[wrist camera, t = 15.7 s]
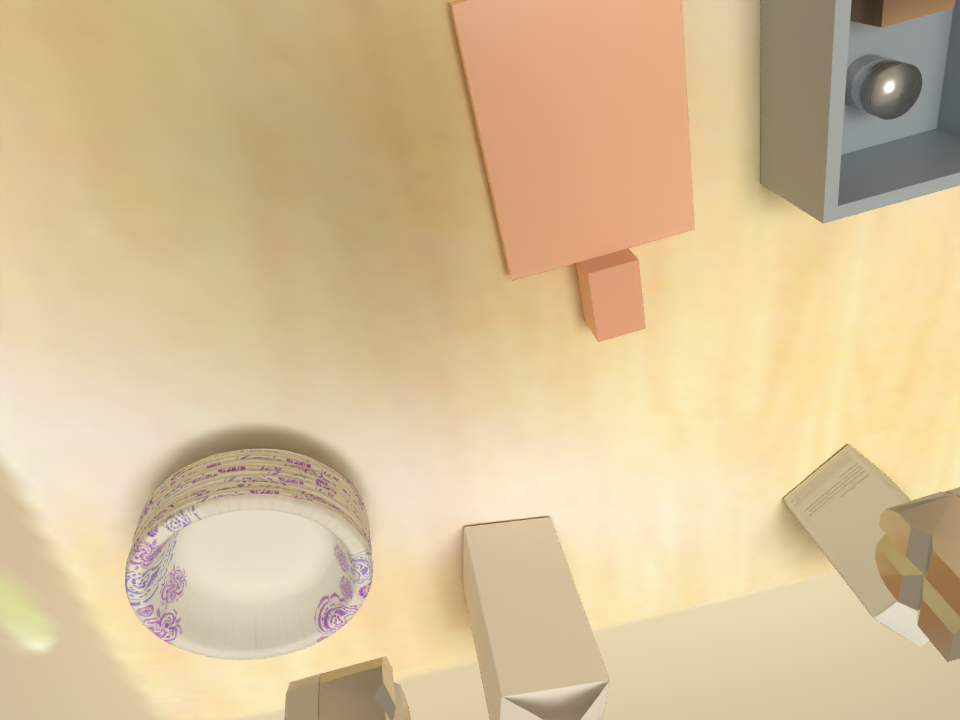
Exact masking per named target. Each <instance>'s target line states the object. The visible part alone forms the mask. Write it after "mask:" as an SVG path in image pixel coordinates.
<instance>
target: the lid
mask: <svg viewBox="0 0 960 720" xmlns="http://www.w3.org/2000/svg"><path fill="white" fill-rule="evenodd" d="M449 4H450V9H451V14H452V18H453V23H454V27H455V32H456V37H457V41H458V46H459V50H460V55H461V59H462V64H463V69H464V73H465V78H466V82H467V87H468V92H469V96H470V101H471V105H472V110H473V114H474V119H475V124H476V128H477V133H478V137H479V142H480V146H481V151H482V156H483V160H484V165H485V169H486V174H487V179H488V183H489V188H490V192H491V197H492V201H493V206H494V211H495V215H496V220H497V224H498V229H499V233H500V238H501V243H502V247H503V252H504V256H505V261H506V266H507V270H508V274H509V276H510V278H511V280H512V281H514V280H517V279H521V278H524V277H528V276H531V275H535V274H539V273H542V272H546V271H549V270H553V269H556V268H560V267H563V266H567V265H570V264H574V263H575V264H576V270H577V276H578V282H579V289H580V295H581V301H582V307H583V314H584V320H585V322H586V323H587V325H588V326H589V328H590V330H591V331H592V333H593V334H594V336H595V338H596V339H597V341H598V342H600V341H603V340H607V339H610V338H614V337H618V336H621V335H625V334H628V333H632V332H635V331H639V330H642V329H646V326H645V317H644V308H643V298H642V289H641V280H640V271H639V261H638V259H637V258H636V257H635V255H634V254H633V253H632V252H631V251H630V250H629V249H628V248H631V247H634V246H638V245H641V244H645V243H649V242H652V241H656V240H659V239H663V238H666V237H670V236H673V235H677V234H681V233H684V232H688V231H691V230H695V226H694V209H693V192H692V174H691V157H690V140H689V123H688V106H687V89H686V72H685V55H684V38H683V20H682V3H681V0H459V1H455V2H452V3H449Z"/></svg>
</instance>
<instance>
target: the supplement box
mask: <svg viewBox="0 0 960 720" xmlns="http://www.w3.org/2000/svg"><path fill="white" fill-rule="evenodd" d="M910 501H911V500H910V499H909V498H908V497H907V496H906V494H905V493H904V492H903V491H902V490H901V489H900V488H899V487H898V486H897V485H896V484H895V483H894V482H893V481H892V480H891V479H890V478H889V477H888V476H887V475H886V474H885V473H883V472H882V471H881V470H880V469H879V468H877V467H876V466H875V465H874V464H873V463H871V462H870V461H869V460H868V459H866V458H865V457H864V456H863V455H861V454H860V453H859V452H858V451H856V450H855V449H854V448H853V447H851V446H850V445H847V446H845V447H844V448H843V449H842V450H840V451H839V452H838V453H837V454H836V455H834V456H833V457H832V458H831V459H830V460H828V461H827V462H826V463H825V464H823V465H822V466H821V467H820V468H819V469H818V470H816V471H815V472H814V473H812V474H811V475H810V476H809V477H808V478H807V479H805V480H804V481H803V482H802V483H801V484H799V485H798V486H797V487H796V488H795V489H793V490H792V491H791V492H790V493H789V494H788V495H787V496H785V498H784V502H785V504H786V505H787V506H788V508H789V509H790V510H791V512H792V513H793V514H794V516H795V517H796V518H797V519H798V521H799V522H800V523H801V525H802V526H803V527H804V528H805V530H806V531H807V532H808V534H809V535H810V536H811V538H812V539H813V540H814V542H815V543H816V544H817V545H818V547H819V548H820V549H821V551H822V552H823V553H824V554H825V556H826V557H827V558H828V560H829V561H830V562H831V563H832V565H833V566H834V567H835V569H836V570H837V571H838V573H839V574H840V575H841V576H842V578H843V579H844V580H845V582H846V583H847V584H848V585H849V587H850V588H851V589H852V590H853V592H854V593H855V595H856V596H857V597H858V599H859V600H860V601H861V602H862V604H863V605H864V606H865V608H866V609H867V610H868V612H869V613H870V614H871V616H872V617H873V618H874V619H875V620H877V621H878V622H880V623H881V624H883V625H885V626H886V627H888V628H889V629H891V630H893V631H894V632H896V633H897V634H899V635H901V636H902V637H904V638H906V639H907V640H909V641H910V642H912V643H914V644H915V645H917V646H919V647H920V646H921V645H923V644H924V643H926V642H927V641H929V639H928V638H927V636H926V635H925V634H924V633H923V632H922V630H921V629H920V628H919V627H918V626H917V611H916V610H914V609H912V608H910V607H908V606H906V605H904V604H901V603H899V602H898V601H897V600H896V599H895V597H894V596H893V595H892V594H891V592H890V591H889V590H888V589H887V587H886V585H885V583H884V582H883V580H882V578H881V576H880V574H879V571H878V567H877V564H876V561H875V554H876V545H877V543H878V542H879V541H880V540H881V539H882V537H883V536H884V535H885V534H886V533H885V532H884V531H883V530H882V529H881V528H880V527H879V521H880V515H881V514H882V513H883V511H884V510H885V509H887V508H890V507H894V506H897V505H900V504H903V503H906V502H910Z"/></svg>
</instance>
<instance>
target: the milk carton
mask: <svg viewBox="0 0 960 720" xmlns="http://www.w3.org/2000/svg"><path fill="white" fill-rule="evenodd" d="M463 588H464V593H465V598H466V603H467V608H468V613H469V618H470V623H471V628H472V633H473V638H474V643H475V648H476V653H477V658H478V663H479V668H480V673H481V678H482V683H483V688H484V693H485V698H486V703H487V708H488V713H489V718H490V720H603V715H604V710H605V705H606V699H607V694H608V688H609V677H608V674H607V671H606V668H605V666H604V663H603V660H602V657H601V654H600V652H599V649H598V646H597V643H596V641H595V638H594V635H593V632H592V630H591V627H590V624H589V622H588V619H587V616H586V613H585V611H584V608H583V605H582V602H581V600H580V597H579V594H578V591H577V589H576V586H575V583H574V580H573V578H572V575H571V572H570V570H569V567H568V564H567V561H566V559H565V556H564V553H563V550H562V548H561V545H560V542H559V539H558V537H557V534H556V531H555V528H554V526H553V523H552V520H551V518H550V517H546V518H537V519H528V520H519V521H510V522H502V523H493V524H485V525H476V526H468V527H464V532H463Z"/></svg>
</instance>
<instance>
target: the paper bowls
mask: <svg viewBox="0 0 960 720" xmlns="http://www.w3.org/2000/svg"><path fill="white" fill-rule="evenodd" d="M372 577H373V561H372V552H371V541H370V530H369V522H368V517H367V513H366V509H365V506H364V503H363V502H362V498H361V497H360V495H359V494H358V492H357V490H356V489H355V488H354V486H353V485H352V484H351V483H350V482H349V480H347V479H346V478H345V477H344V476H342V475H341V474H339V473H338V472H336V471H335V470H334V469H333V468H331V467H329V466H328V465H326V464H324V463H321V462H319V461H317V460H316V459H313V458H311V457H308V456H306V455H302V454H299V453H295V452H291V451H286V450H281V449H268V448H260V449H241V450H235V451H228V452H222V453H218V454H214V455H211V456H208V457H205V458H203V459H200V460H198V461H196V462H194V463H192V464H189V465H188V466H186V467H184V468H182V469H180V470H179V471H177V472H175V473H174V474H172V475H171V476H170V477H168V478H167V479H166V480H165V481H164V482H163V483H162V484H161V485H160V486H159V487H158V488H157V489H156V490H155V491H154V492H153V494H152V495H151V497H150V498H149V500H148V502H147V504H146V505H145V507H144V509H143V511H142V513H141V516H140V519H139V522H138V526H137V530H136V532H135V534H134V539H133V545H132V547H131V550H130V553H129V557H128V559H127V563H126V573H125V586H126V594H127V596H128V599H129V602H130V605H131V607H132V609H133V610H134V612H135V614H136V615H137V617H138V618H139V619H140V621H141V622H142V623H143V624H144V625H145V626H146V627H147V628H148V629H149V630H150V631H151V632H152V633H154V634H155V635H156V636H157V637H159V638H160V639H162V640H164V641H166V642H168V643H169V644H171V645H173V646H175V647H178V648H180V649H183V650H186V651H189V652H192V653H195V654H198V655H203V656H207V657H212V658H219V659H230V660H251V659H264V658H271V657H275V656H280V655H285V654H288V653H292V652H295V651H298V650H301V649H304V648H306V647H309V646H311V645H314V644H316V643H318V642H320V641H322V640H323V639H325V638H327V637H329V636H330V635H332V634H333V633H335V632H336V631H337V630H339V629H340V628H341V627H342V626H344V625H345V624H346V623H347V622H348V621H349V620H351V619H352V617H353V616H354V615H355V614H356V612H357V611H358V609H359V608H360V607H361V606H362V604H363V602H364V600H365V598H366V596H367V594H368V592H369V589H370V586H371V583H372Z"/></svg>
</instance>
